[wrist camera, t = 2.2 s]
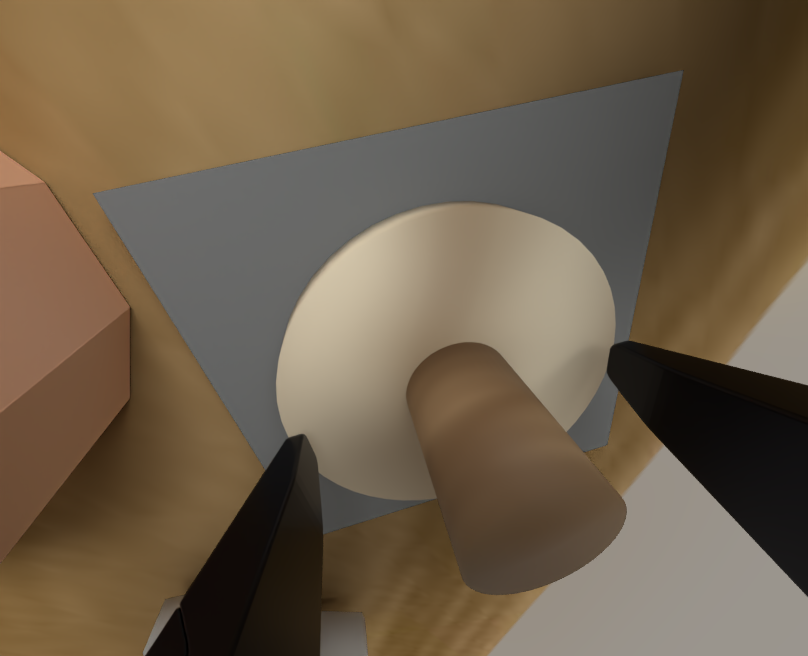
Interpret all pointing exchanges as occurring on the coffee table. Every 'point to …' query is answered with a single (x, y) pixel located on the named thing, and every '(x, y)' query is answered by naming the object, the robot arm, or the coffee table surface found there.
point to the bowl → (51, 349)
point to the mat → (376, 201)
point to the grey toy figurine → (338, 630)
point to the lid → (461, 383)
